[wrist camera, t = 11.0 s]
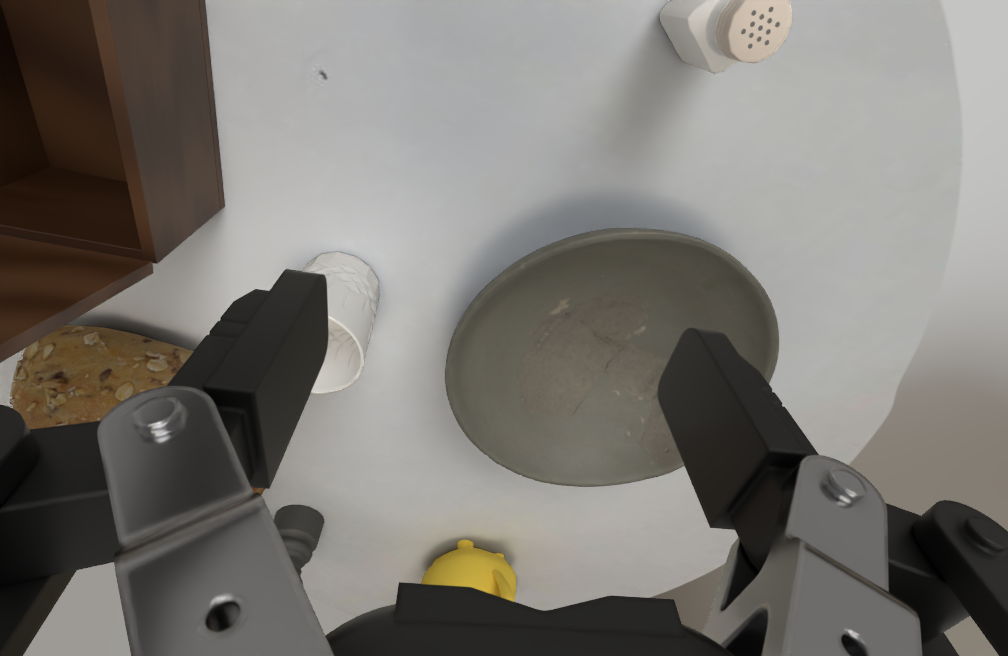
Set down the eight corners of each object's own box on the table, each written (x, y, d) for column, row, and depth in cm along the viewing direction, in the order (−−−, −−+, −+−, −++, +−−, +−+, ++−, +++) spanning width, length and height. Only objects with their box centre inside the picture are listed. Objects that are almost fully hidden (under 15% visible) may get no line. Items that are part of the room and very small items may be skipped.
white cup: (341, 334, 46) (311, 408, 38) (277, 275, 42) (227, 344, 34) (404, 294, 44) (386, 364, 36) (342, 227, 40) (305, 289, 32)
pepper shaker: (735, 21, 32) (813, 33, 25) (681, 65, 34) (739, 89, 26) (708, -36, 30) (784, -42, 23) (653, 13, 32) (706, 22, 24)
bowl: (541, 458, 58) (548, 521, 51) (393, 290, 44) (376, 346, 37) (769, 364, 50) (813, 423, 44) (680, 123, 36) (725, 154, 29)
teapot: (434, 588, 75) (426, 677, 66) (413, 538, 67) (401, 631, 57) (522, 581, 75) (527, 669, 65) (512, 529, 66) (516, 622, 57)
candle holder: (331, 529, 65) (260, 776, 45) (287, 534, 65) (197, 781, 45) (314, 502, 61) (229, 757, 41) (267, 507, 62) (160, 763, 42)
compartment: (-31, -92, 28) (-239, -123, 20) (202, -29, 30) (99, -33, 22) (49, 171, 37) (-73, 223, 29) (225, 206, 39) (157, 264, 31)
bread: (278, 492, 60) (238, 590, 50) (87, 465, 56) (4, 566, 46) (284, 343, 47) (231, 438, 37) (33, 294, 43) (-101, 386, 33)
